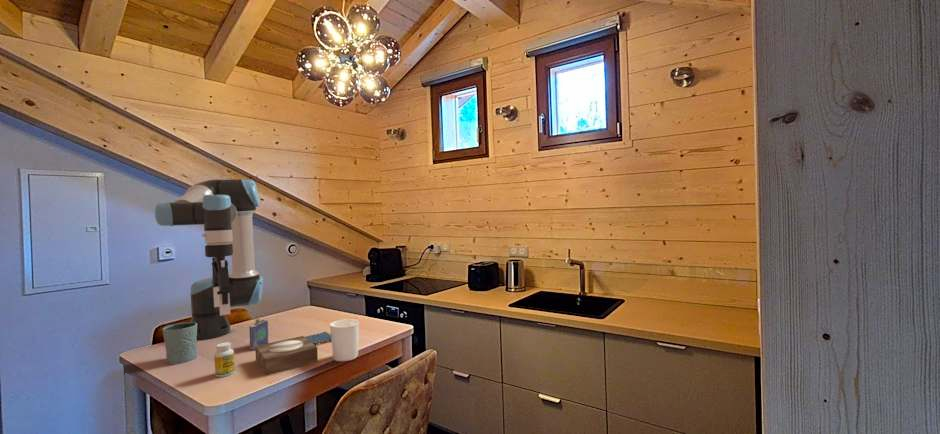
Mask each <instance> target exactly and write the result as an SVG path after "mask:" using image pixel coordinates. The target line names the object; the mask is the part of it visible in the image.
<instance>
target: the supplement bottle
mask: <svg viewBox="0 0 940 434" xmlns="http://www.w3.org/2000/svg"><path fill="white" fill-rule="evenodd" d="M231 347H232V343H231V342H227V341H225V342H221V343H218V344H216V347H215V348H216V352H215V353H214V355H213V357H214V370H215V376H216V377H218V378H224V377H229V376H231V375H232V374H234V373H235V370H236V369H235V351H234V349H233V348H231Z"/></svg>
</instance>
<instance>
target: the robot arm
mask: <svg viewBox="0 0 940 434" xmlns="http://www.w3.org/2000/svg"><path fill="white" fill-rule="evenodd" d="M259 196H260V195H259V192H258V188H257V184H256V182H255V180H252V179H243V178H241V179H236V178H235V179H231V178H230V179H218V178H217V179H208V180H204V181H201V182H198V183H195V184H193V185H191V186H190V187H188V188H187V190H186V191H185V193H184V194H183V195H181V196H180V197H179V198H177V199H176V200H174V201H173V202H169V201H166V202H159V203H157V205H156V206H155V208H154V209H155V211H154V216H155V217H154V218H155V220H156V223H157V224H158V226H162V227H163V226H164V227H165V226H166V227H167V226H168V227H174V226H192V225H193V226H194V225H197V226H198V225H200V226H201V225H203V227H204V229H203V231H204V232H203V233H202V234H201V236H202V238H204V243H205V245H204V252H205V253H204V256H205V257H206V258H211V269H212V273H211V274H212V277H208V278H203V279H200V280H197V281H194V282H193V283H191V285H190V293H189V295H190V309H191V320H190V322H196V323H197V340H196V341H198V340H199V341H200V340H207V339H214V338H217V337H222V336H224V335H227V334H229V333H230V332H231V325H230V323H229V320H228V317H227V315H231V308H233V307H234V308H235V307H245V306H248V307H249V306H254V305H257V304H259V303H260V302H261V299H262V295H263V289H264V288H263V285H264V277H263V276H260V273H259V271H257V270H256V267H255V266H256V265H255V263H256V262H255V247H254V224H253V223H254V222H253V214H255V212H257V208H258V207H260V197H259ZM230 256H231V272H230V274H229V268H228V266H229V262H228V260H227V259H226V257H230Z"/></svg>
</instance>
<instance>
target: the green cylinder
mask: <svg viewBox="0 0 940 434" xmlns="http://www.w3.org/2000/svg"><path fill="white" fill-rule="evenodd" d="M161 330H162V336H163V340H164V341H163V342H164V345H165V346H164V347H165V348H164V349H165V351H166V353H165V357H166V363H167V364H169V365H179V364H184V363H188V362H190V361H191V362H192V361H193V360H195V359H197V356H198V354H197V352H198V349H197V343H198V340H197V323H196V322H191V321H186V322H185V321H184V322H177V323H174V324H173V323H172V324H170V325H165V326H164V327H163V328H162V329H161Z"/></svg>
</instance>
